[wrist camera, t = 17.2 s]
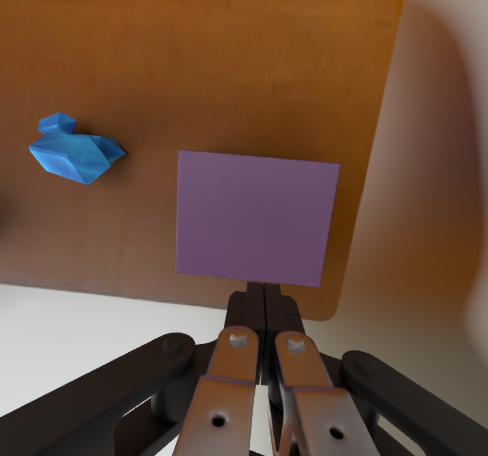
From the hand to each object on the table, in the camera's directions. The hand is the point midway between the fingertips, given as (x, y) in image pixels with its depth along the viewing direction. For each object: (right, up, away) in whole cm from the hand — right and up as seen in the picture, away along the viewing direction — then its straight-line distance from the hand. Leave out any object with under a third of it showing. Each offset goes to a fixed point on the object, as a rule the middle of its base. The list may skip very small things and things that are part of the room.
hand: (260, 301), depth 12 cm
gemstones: (-20, +14, +23) cm, 34 cm away
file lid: (0, +4, +16) cm, 17 cm away
